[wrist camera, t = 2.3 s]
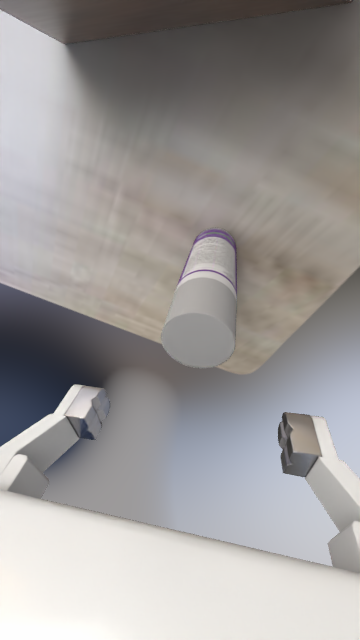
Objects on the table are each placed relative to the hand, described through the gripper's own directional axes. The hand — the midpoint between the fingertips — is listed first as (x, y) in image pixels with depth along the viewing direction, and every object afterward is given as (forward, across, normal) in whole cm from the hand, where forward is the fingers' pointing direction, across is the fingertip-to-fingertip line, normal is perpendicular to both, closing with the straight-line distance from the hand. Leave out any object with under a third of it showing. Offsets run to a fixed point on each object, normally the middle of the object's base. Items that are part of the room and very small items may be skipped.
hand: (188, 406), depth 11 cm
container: (+19, 0, 0) cm, 19 cm away
